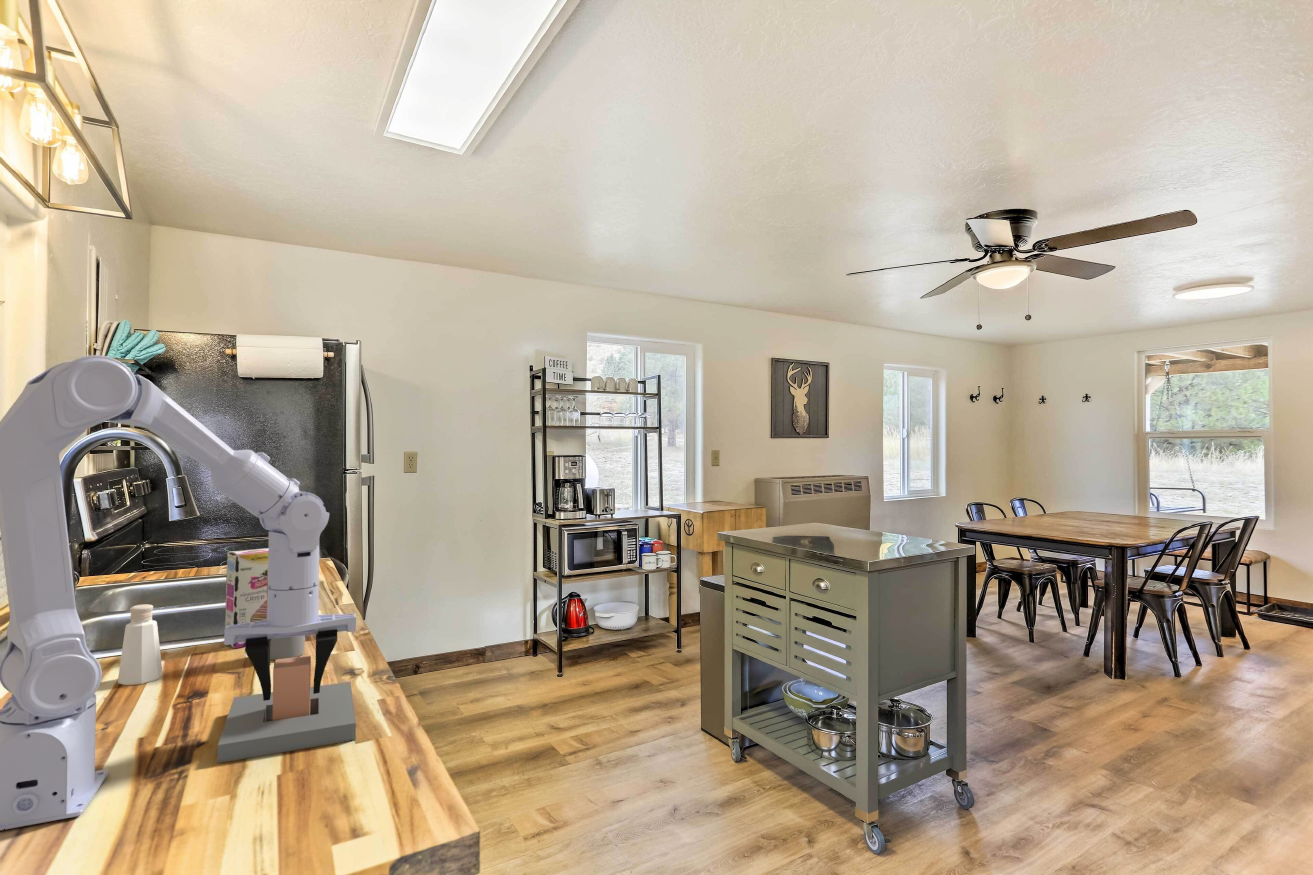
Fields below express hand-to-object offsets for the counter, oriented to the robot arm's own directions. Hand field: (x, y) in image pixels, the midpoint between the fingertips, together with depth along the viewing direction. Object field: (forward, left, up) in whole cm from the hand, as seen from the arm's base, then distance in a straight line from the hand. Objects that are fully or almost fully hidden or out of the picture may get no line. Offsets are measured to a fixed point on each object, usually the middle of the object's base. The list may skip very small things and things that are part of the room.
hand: (292, 694), depth 86 cm
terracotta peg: (0, 0, -4) cm, 4 cm away
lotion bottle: (+33, +2, -4) cm, 33 cm away
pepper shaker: (+29, +21, -4) cm, 36 cm away
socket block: (0, 0, -4) cm, 4 cm away
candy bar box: (+45, +6, -4) cm, 46 cm away
